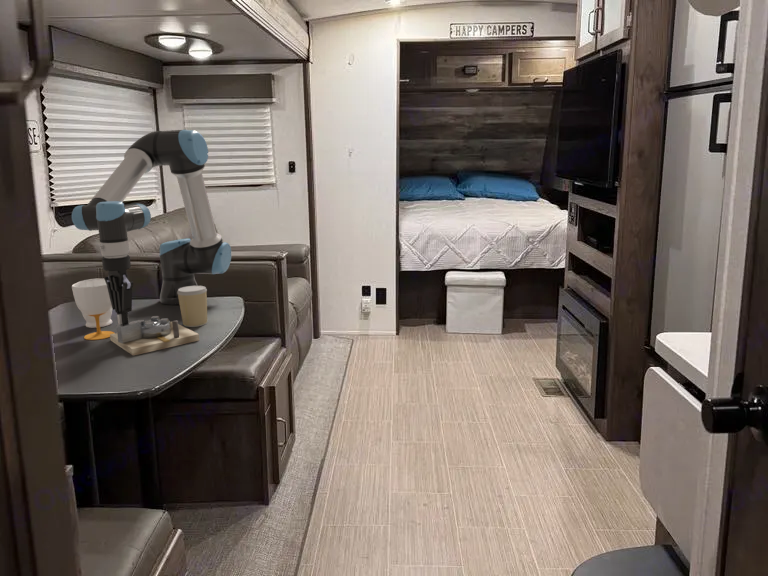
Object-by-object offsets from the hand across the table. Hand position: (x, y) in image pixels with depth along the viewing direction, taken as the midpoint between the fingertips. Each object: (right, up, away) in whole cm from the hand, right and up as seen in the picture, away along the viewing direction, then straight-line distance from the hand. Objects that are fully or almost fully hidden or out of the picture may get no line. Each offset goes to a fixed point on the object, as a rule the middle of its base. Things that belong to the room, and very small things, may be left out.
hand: (124, 333), depth 193 cm
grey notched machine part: (+5, -1, +3) cm, 6 cm away
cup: (-13, -2, +13) cm, 19 cm away
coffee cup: (+14, +2, +23) cm, 27 cm away
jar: (-19, +1, +26) cm, 32 cm away
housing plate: (+7, -2, +6) cm, 9 cm away
